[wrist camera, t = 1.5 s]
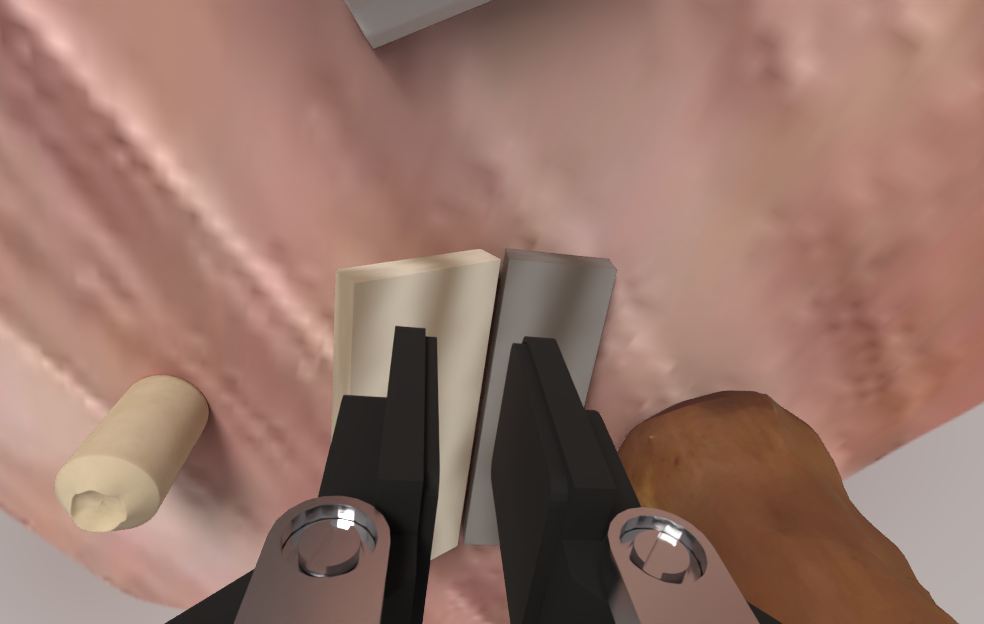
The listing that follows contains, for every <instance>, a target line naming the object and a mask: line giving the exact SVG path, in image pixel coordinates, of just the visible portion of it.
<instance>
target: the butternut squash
mask: <svg viewBox="0 0 984 624" xmlns="http://www.w3.org/2000/svg"><path fill="white" fill-rule="evenodd" d="M618 455H619V458H620V460H621V462H622V464H623V467H624V469H625V471H626V473H627V476H628V478H629V480H630V482H631V485H632V487H633V489H634V491H635V494H636V496H637V498H638V501H639V503H640V505H641V507H646V508H654V509H660V510H663V511H666V512H669V513H672V514H675V515H677V516H678V517H680V518H682V519H684V520H686V521H687V522H689V523H691V524H692V525H693V526H694V527H695V528H697V529H698V530H699V531H700V532H701V533H703V534H704V535H705V537H706V538H707V539H708V541H709V542H710V543H711V544H712V546H713V547H714V549H715V550H716V552H717V554H718V555H719V557H720V559H721V560H722V562H723V564H724V565H725V567H726V569H727V570H728V572H729V574H730V575H731V577H732V579H733V580H734V582H735V584H736V585H737V587H738V589H739V590H740V592H741V594H742V595H743V597H744V599H745V600H746V601H748V602H749V603H751V604H752V605H754V606H755V607H757V608H759V609H760V610H762V611H763V612H765V613H767V614H768V615H770V616H771V617H773V618H775V619H776V620H778V621H779V622H781V623H783V624H958V623H957V622H956V621H955V620H954V619H953V618H952V617H951V616H950V615H949V614H947V613H946V612H945V611H944V610H942V609H941V608H940V607H939V606H937V605H936V603H935V602H934V600H933V599H932V597H931V596H930V593H929V592H928V591H927V590H926V589H924V588H923V586H922V585H921V584H920V583H919V582H918V580H917V579H916V577H915V575H914V573H913V571H912V569H911V567H910V565H909V563H908V561H907V560H906V558H905V556H904V555H903V553H902V552H901V551H900V550H899V548H898V547H897V546H896V545H895V544H894V543H892V542H891V541H890V540H889V539H888V538H887V537H885V536H884V535H883V534H882V533H881V532H880V531H879V530H878V529H876V528H875V527H874V526H873V525H872V524H871V523H870V522H869V521H868V520H867V519H866V518H865V517H864V516H863V515H862V514H861V513H860V512H859V511H858V509H857V508H856V507H855V506H854V504H853V503H852V502H851V501H850V499H849V497H848V495H847V492H846V490H845V488H844V486H843V483H842V479H841V476H840V474H839V472H838V469H837V467H836V465H835V463H834V460H833V459H832V457H831V456H830V454H829V452H828V451H827V449H826V447H825V446H824V444H823V442H822V441H821V439H820V437H819V436H818V434H817V433H816V432H815V431H814V430H813V429H812V428H811V427H810V426H809V425H808V424H807V423H805V422H804V421H803V420H801V419H799V418H798V417H796V416H795V415H793V414H792V413H790V412H789V411H787V410H786V409H784V408H783V407H781V406H780V405H779V404H777V403H776V402H775V401H774V400H773V399H772V398H770V397H769V396H768V395H767V394H761V393H758V392H754V391H722V392H717V393H712V394H709V395H705V396H701V397H698V398H694V399H690V400H687V401H683V402H681V403H678V404H676V405H673V406H671V407H669V408H667V409H665V410H663V411H662V412H660V413H658V414H656V415H654V416H652V417H650V418H648V419H647V420H645V421H643V422H642V423H640V424H639V425H637V426H636V427H635V428H633V429H632V430H631V431H630V433H629V434H628V435H627V437H626V439H625V440H624V442H623V444H622V446H621V447H620V449H619V451H618Z"/></svg>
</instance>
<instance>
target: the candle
mask: <svg viewBox="0 0 984 624" xmlns="http://www.w3.org/2000/svg"><path fill="white" fill-rule="evenodd" d="M208 416H209V408H208V404H207V401H206V399H205V398H204V396H203V395H202V393H201V392H200V391H199V390H198V389H197V388H196V387H195V386H193V385H192V384H190V383H189V382H187V381H185V380H183V379H180V378H178V377H174V376H169V375H154V376H149V377H146V378H143V379H141V380H139V381H138V382H136V383H135V384H134V385H132V386H131V387H130V388H129V389H128V391H127V392H126V393H125V394H124V395H123V396H122V397H121V399H120V400H119V401H118V402H117V403H116V405H115V406H114V407H113V408H112V409H111V410H110V412H109V413H108V414H107V415H106V416H105V418H104V419H103V420H102V421H101V422H100V423H99V425H98V426H97V427H96V428H95V429H94V431H93V432H92V433H91V434H90V435H89V437H88V438H87V439H86V440H85V441H84V442H83V444H82V445H81V446H80V447H79V448H78V450H77V451H76V452H75V453H74V454H73V455H72V457H71V458H70V459H69V460H68V461H67V463H66V464H65V465H64V466H63V467H62V469H61V470H60V471H59V473H58V474H57V477H56V480H55V492H56V495H57V498H58V500H59V502H60V504H61V505H62V507H63V508H64V510H65V511H66V512H67V513H68V515H69V516H70V517H71V518H72V519H73V520H74V521H75V523H76V524H77V525H78V526H79V528H81V529H82V530H84V531H89V532H109V531H117V530H125V529H130V528H134V527H137V526H140V525H142V524H144V523H146V522H147V521H149V520H150V519H151V518H152V517H153V516H154V515H155V514H156V512H157V511H158V509H159V507H160V505H161V504H162V502H163V500H164V498H165V497H166V495H167V493H168V491H169V490H170V488H171V486H172V484H173V483H174V481H175V479H176V477H177V476H178V474H179V472H180V470H181V469H182V467H183V465H184V463H185V462H186V460H187V458H188V456H189V455H190V453H191V451H192V449H193V448H194V446H195V444H196V442H197V441H198V439H199V437H200V435H201V433H202V432H203V430H204V428H205V426H206V424H207V420H208Z"/></svg>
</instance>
